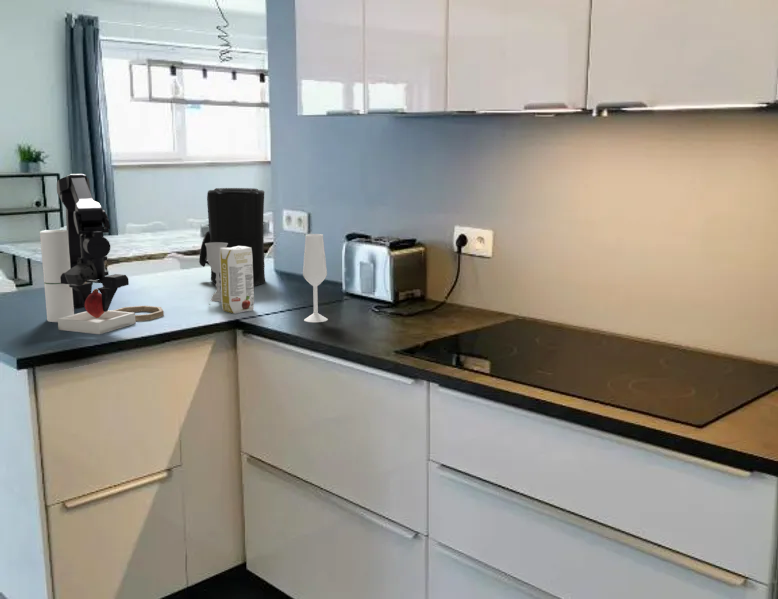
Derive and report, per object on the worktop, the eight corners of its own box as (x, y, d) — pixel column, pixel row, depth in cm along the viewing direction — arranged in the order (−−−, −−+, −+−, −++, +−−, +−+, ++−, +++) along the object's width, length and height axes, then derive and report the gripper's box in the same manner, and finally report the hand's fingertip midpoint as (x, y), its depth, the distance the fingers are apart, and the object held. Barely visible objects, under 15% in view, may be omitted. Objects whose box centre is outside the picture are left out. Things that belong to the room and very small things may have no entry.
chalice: (202, 301, 252) (200, 244, 248) (215, 297, 258) (212, 241, 254) (222, 302, 249) (220, 245, 245) (234, 298, 255) (232, 242, 252)
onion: (100, 320, 213) (98, 291, 211) (81, 319, 214) (79, 290, 213) (112, 316, 219) (110, 287, 217) (93, 315, 220) (91, 286, 218)
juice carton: (257, 310, 237) (255, 247, 234) (233, 314, 231) (230, 249, 228) (242, 307, 242) (240, 244, 239) (218, 311, 236) (215, 247, 233)
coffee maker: (254, 274, 304) (251, 185, 297) (290, 286, 277) (288, 189, 270) (196, 279, 292) (192, 186, 285) (228, 293, 265) (224, 191, 258)
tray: (58, 329, 213) (57, 318, 212) (95, 319, 226) (95, 308, 225) (99, 334, 208) (98, 323, 207) (135, 323, 221) (135, 312, 220)
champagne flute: (331, 320, 223) (330, 235, 219) (308, 323, 220) (307, 236, 216) (322, 316, 229) (321, 233, 225) (300, 318, 226) (298, 234, 222)
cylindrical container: (79, 317, 228) (73, 230, 223) (62, 322, 221) (54, 233, 217) (59, 315, 230) (52, 229, 225) (41, 321, 224) (33, 232, 219)
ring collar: (101, 318, 226) (100, 313, 226) (134, 309, 239) (134, 304, 239) (141, 322, 221) (140, 317, 221) (172, 313, 234) (172, 308, 233)
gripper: (42, 255, 209) (47, 313, 212) (98, 259, 202) (102, 319, 205) (73, 250, 219) (78, 305, 222) (128, 254, 212) (131, 311, 215)
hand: (96, 310), depth 216 cm, fingers closed on onion, 6 cm apart
